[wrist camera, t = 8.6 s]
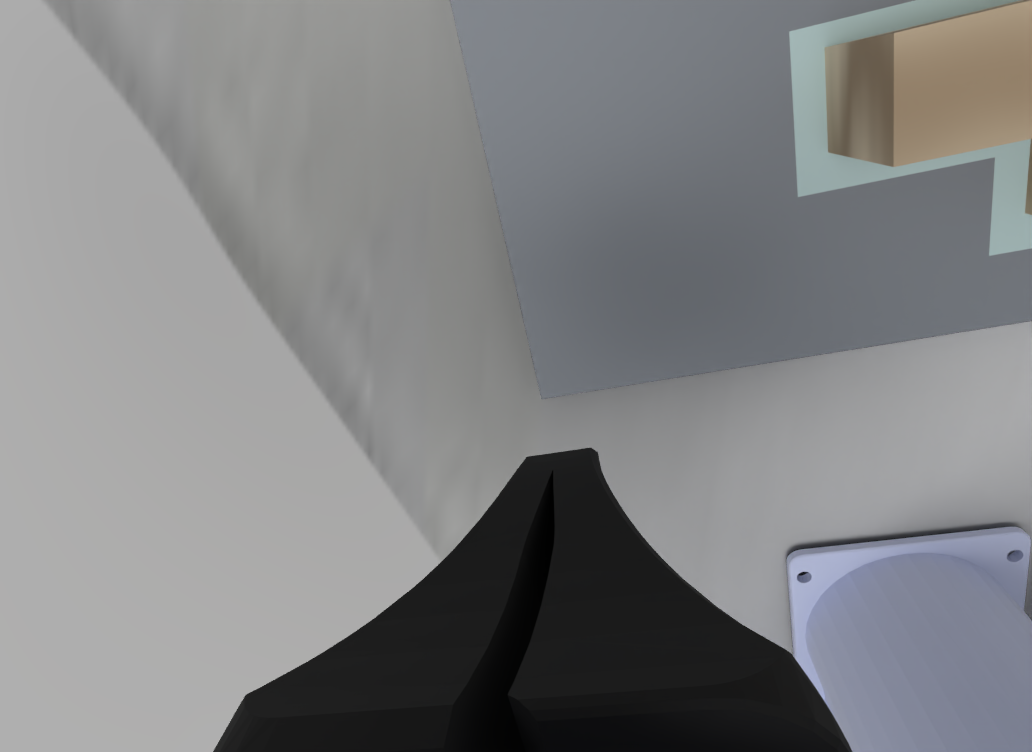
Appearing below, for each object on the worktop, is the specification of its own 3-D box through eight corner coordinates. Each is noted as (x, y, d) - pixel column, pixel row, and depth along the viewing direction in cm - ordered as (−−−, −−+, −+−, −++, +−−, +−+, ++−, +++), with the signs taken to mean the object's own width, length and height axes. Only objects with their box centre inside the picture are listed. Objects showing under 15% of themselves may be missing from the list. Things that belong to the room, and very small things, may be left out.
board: (1176, 283, 19) (1206, 292, 18) (543, 386, 22) (541, 399, 21) (1300, -416, 13) (1354, -454, 12) (425, -134, 16) (416, -148, 15)
